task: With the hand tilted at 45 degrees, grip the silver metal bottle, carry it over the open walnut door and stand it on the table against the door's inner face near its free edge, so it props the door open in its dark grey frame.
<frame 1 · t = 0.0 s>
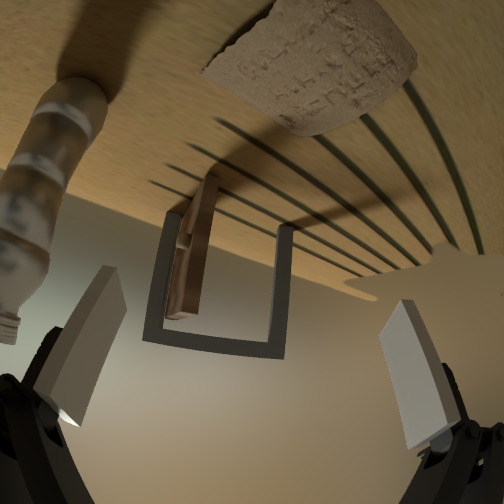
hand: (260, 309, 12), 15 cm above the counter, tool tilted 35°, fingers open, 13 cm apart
door: (182, 254, 32), point 8 cm above the counter, hinge at 70.0°
clay tablet: (309, 52, 15), on the counter
silver metal bottle: (84, 93, 18), on the counter
door frame: (229, 221, 40), on the counter
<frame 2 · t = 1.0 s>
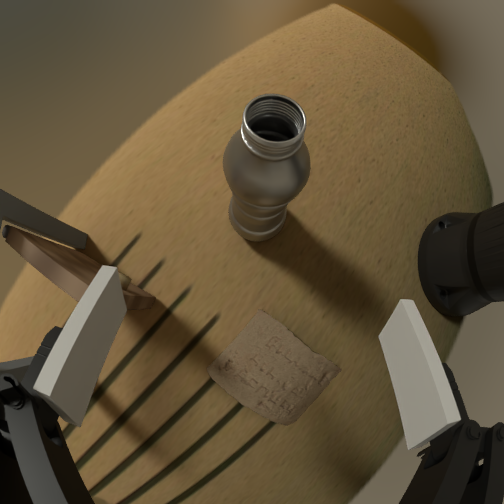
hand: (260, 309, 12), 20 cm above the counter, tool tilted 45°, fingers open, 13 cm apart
door: (83, 265, 25), point 8 cm above the counter, hinge at 70.0°
clay tablet: (274, 370, 32), on the counter
silver metal bottle: (256, 218, 34), on the counter
door frame: (72, 300, 31), on the counter
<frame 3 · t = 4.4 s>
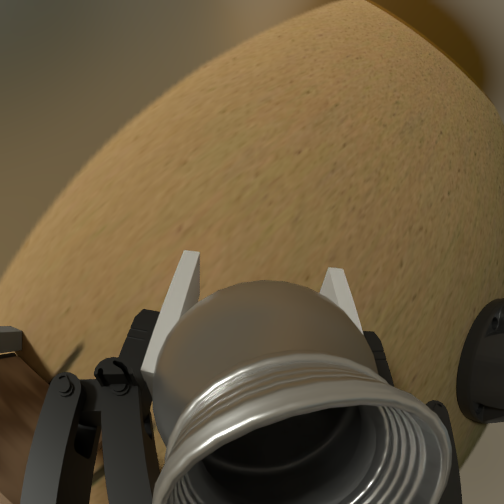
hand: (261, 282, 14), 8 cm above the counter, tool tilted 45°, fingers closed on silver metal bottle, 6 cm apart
door: (9, 409, 12), point 8 cm above the counter, hinge at 70.0°
silver metal bottle: (246, 335, 22), on the counter, touching gripper
door frame: (19, 406, 18), on the counter
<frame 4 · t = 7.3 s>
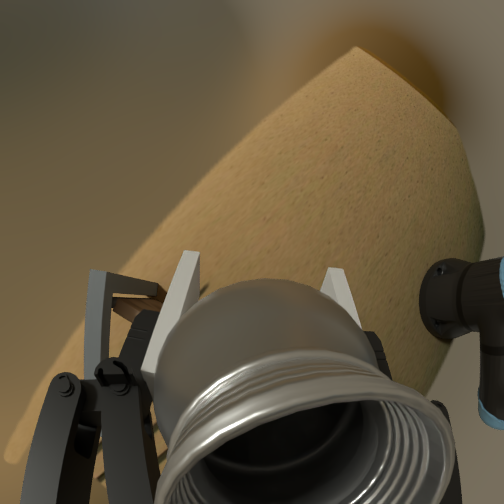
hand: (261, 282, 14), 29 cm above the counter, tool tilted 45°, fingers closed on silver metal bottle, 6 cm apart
door: (174, 320, 34), point 8 cm above the counter, hinge at 70.0°
silver metal bottle: (246, 335, 22), point 21 cm above the counter, touching gripper
door frame: (146, 338, 41), on the counter
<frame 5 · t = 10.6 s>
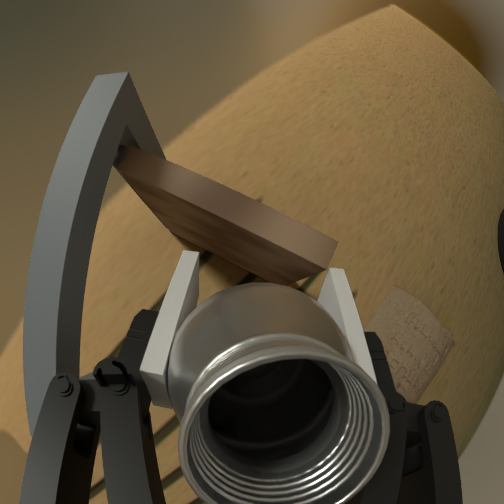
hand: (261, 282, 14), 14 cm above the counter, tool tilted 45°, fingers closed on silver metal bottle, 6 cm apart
door: (222, 224, 20), point 8 cm above the counter, hinge at 70.3°, touching gripper
clay tablet: (402, 350, 28), on the counter
silver metal bottle: (245, 333, 23), point 3 cm above the counter, touching gripper
door frame: (159, 282, 27), on the counter
when the fingers open (10 cm above the counter, at t = 11.8 s): silver metal bottle stays where it is, on the counter.
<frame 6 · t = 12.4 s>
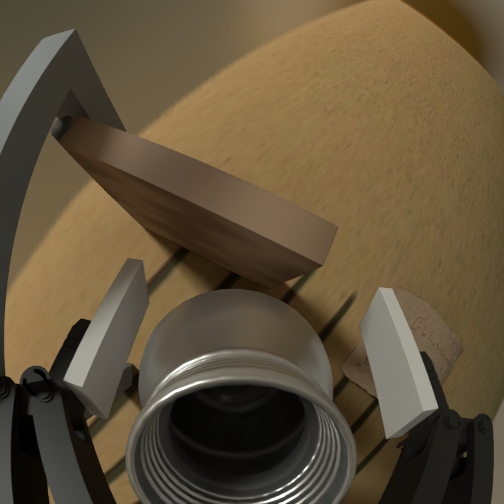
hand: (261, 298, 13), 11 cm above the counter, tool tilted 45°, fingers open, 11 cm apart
door: (193, 212, 16), point 8 cm above the counter, hinge at 70.4°
clay tablet: (406, 359, 24), on the counter
silver metal bottle: (232, 336, 23), on the counter
door frame: (129, 283, 23), on the counter
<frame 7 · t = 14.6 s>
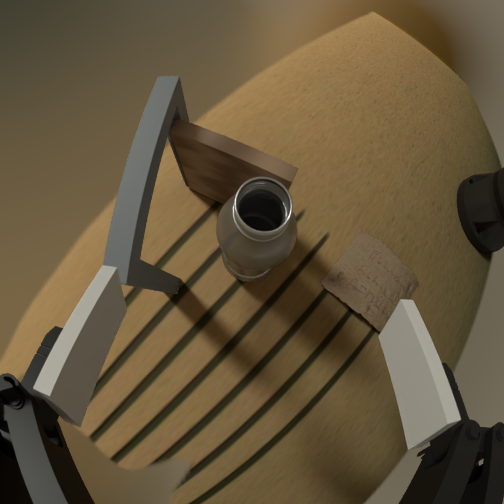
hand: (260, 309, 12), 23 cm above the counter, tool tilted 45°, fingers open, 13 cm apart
door: (229, 173, 30), point 8 cm above the counter, hinge at 70.4°
clay tablet: (371, 285, 38), on the counter
silver metal bottle: (248, 257, 37), on the counter
door frame: (180, 225, 37), on the counter
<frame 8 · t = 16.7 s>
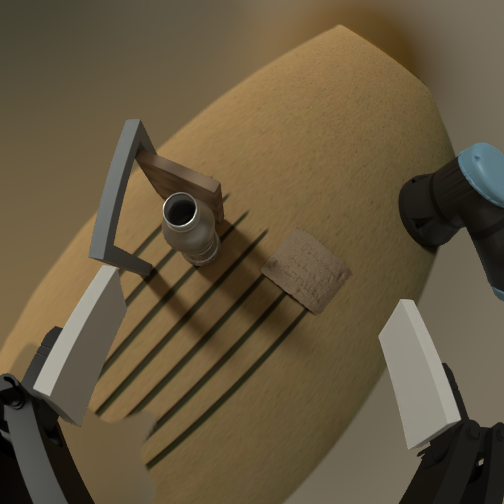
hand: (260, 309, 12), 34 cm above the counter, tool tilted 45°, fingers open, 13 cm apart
door: (183, 185, 40), point 8 cm above the counter, hinge at 70.4°
clay tablet: (305, 272, 48), on the counter
silver metal bottle: (202, 248, 47), on the counter
door frame: (152, 223, 47), on the counter
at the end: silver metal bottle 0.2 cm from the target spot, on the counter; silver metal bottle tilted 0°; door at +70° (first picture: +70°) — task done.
